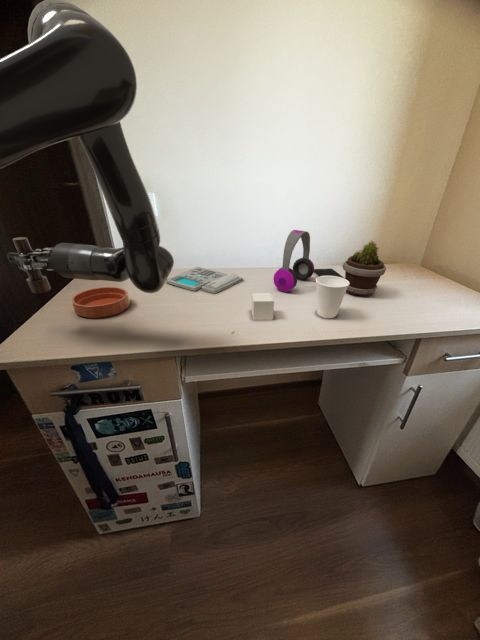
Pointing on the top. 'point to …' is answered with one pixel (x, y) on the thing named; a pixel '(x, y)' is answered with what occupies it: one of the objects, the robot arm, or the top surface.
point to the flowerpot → (364, 271)
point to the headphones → (302, 267)
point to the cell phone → (327, 272)
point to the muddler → (35, 279)
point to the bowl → (100, 302)
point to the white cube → (262, 306)
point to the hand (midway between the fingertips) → (16, 255)
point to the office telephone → (204, 280)
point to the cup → (330, 295)
